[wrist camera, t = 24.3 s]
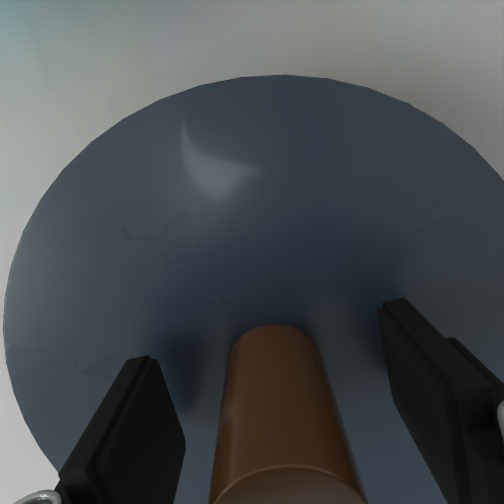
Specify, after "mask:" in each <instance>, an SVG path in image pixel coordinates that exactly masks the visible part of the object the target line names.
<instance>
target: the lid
mask: <svg viewBox="0 0 504 504" xmlns="http://www.w3.org/2000/svg"><path fill="white" fill-rule="evenodd" d="M403 297H405V298H406V299H407V300H408V301H409V302H410V303H411V304H412V305H413V306H414V307H415V308H416V309H417V310H418V311H419V312H420V313H421V314H422V315H423V316H424V317H425V318H426V319H427V320H428V321H429V322H430V323H431V324H432V325H433V326H434V327H435V328H436V329H437V330H438V331H439V333H440V334H441V335H442V336H443V337H444V338H445V339H446V338H451V337H454V338H456V339H457V340H459V341H460V342H461V343H462V344H463V345H464V346H465V347H466V348H467V349H468V350H469V351H470V352H471V353H472V354H473V355H474V356H475V357H476V358H477V359H478V360H480V361H481V362H482V363H483V364H484V365H485V366H486V367H487V368H488V369H489V370H490V371H491V372H492V373H493V374H494V375H495V376H496V377H497V378H498V379H499V380H500V381H501V382H502V383H504V181H503V179H502V178H501V176H500V175H499V174H498V173H497V172H496V171H495V170H494V169H493V168H492V167H491V166H490V165H489V164H488V162H487V161H486V160H485V159H484V158H483V157H482V156H481V155H480V154H479V153H478V152H477V151H476V149H475V148H473V147H472V146H471V145H470V144H468V143H467V142H466V141H465V140H463V139H462V138H461V137H460V136H458V135H457V134H456V133H455V132H453V131H452V130H451V129H449V128H448V127H447V126H446V125H444V124H443V123H441V122H440V121H438V120H436V119H434V118H433V117H431V116H429V115H427V114H426V113H424V112H422V111H420V110H419V109H417V108H415V107H414V106H412V105H410V104H408V103H406V102H403V101H401V100H398V99H396V98H393V97H391V96H388V95H386V94H383V93H380V92H378V91H375V90H373V89H370V88H367V87H362V86H358V85H354V84H350V83H345V82H341V81H337V80H332V79H328V78H318V77H306V76H294V75H270V76H252V77H240V78H235V79H230V80H225V81H220V82H215V83H210V84H205V85H200V86H197V87H194V88H191V89H188V90H186V91H183V92H180V93H177V94H174V95H171V96H169V97H166V98H163V99H160V100H158V101H156V102H154V103H152V104H151V105H149V106H147V107H145V108H143V109H141V110H139V111H137V112H135V113H133V114H132V115H130V116H128V117H126V118H124V119H122V120H121V121H120V122H118V123H117V124H116V125H114V126H113V127H111V128H110V129H109V130H107V131H106V132H105V133H103V134H102V135H100V136H99V137H98V138H96V139H95V140H94V141H92V142H91V143H90V144H89V145H88V146H87V147H86V148H85V149H84V150H83V151H82V152H81V153H80V154H79V155H78V156H77V157H75V158H74V159H73V160H72V161H71V162H70V163H69V164H68V165H67V166H66V167H65V168H64V169H63V170H62V172H61V173H60V174H59V176H58V177H57V178H56V180H55V181H54V182H53V184H52V185H51V186H50V188H49V189H48V190H47V192H46V193H45V194H44V196H43V197H42V198H41V200H40V202H39V203H38V205H37V207H36V209H35V211H34V213H33V214H32V216H31V218H30V220H29V222H28V224H27V225H26V227H25V229H24V231H23V234H22V236H21V239H20V242H19V245H18V247H17V250H16V253H15V256H14V258H13V261H12V264H11V268H10V273H9V279H8V284H7V289H6V294H5V301H4V322H3V335H4V345H5V355H6V364H7V368H8V372H9V376H10V380H11V384H12V388H13V392H14V395H15V397H16V400H17V402H18V405H19V408H20V410H21V413H22V415H23V418H24V420H25V422H26V424H27V426H28V428H29V429H30V431H31V433H32V435H33V437H34V438H35V440H36V442H37V444H38V446H39V447H40V449H41V450H42V452H43V453H44V454H45V456H46V457H47V458H48V460H49V461H50V462H51V464H52V465H53V466H54V468H55V469H56V470H57V472H58V473H59V472H60V470H61V469H62V467H63V465H64V464H65V462H66V460H67V459H68V457H69V455H70V454H71V452H72V450H73V449H74V447H75V445H76V444H77V442H78V440H79V439H80V437H81V435H82V434H83V432H84V430H85V429H86V427H87V425H88V424H89V422H90V420H91V419H92V417H93V415H94V414H95V412H96V410H97V409H98V407H99V405H100V404H101V402H102V400H103V399H104V397H105V395H106V394H107V392H108V390H109V389H110V387H111V385H112V384H113V382H114V380H115V379H116V377H117V375H118V374H119V372H120V370H121V369H122V367H123V365H124V364H125V362H126V361H127V360H128V359H132V358H136V357H141V356H145V355H148V356H150V358H151V359H157V361H158V363H159V365H160V368H161V371H162V374H163V377H164V379H165V382H166V385H167V388H168V391H169V393H170V396H171V399H172V402H173V405H174V408H175V410H176V413H177V416H178V419H179V422H180V425H181V427H182V430H183V433H184V436H185V440H186V452H185V456H184V461H183V465H182V469H181V474H180V478H179V482H178V487H177V491H176V496H175V500H174V504H447V502H446V500H445V498H444V496H443V494H442V492H441V491H440V489H439V487H438V485H437V483H436V481H435V479H434V478H433V476H432V474H431V472H430V470H429V468H428V466H427V464H426V463H425V461H424V459H423V457H422V455H421V453H420V451H419V450H418V448H417V446H416V444H415V442H414V440H413V438H412V437H411V435H410V433H409V431H408V429H407V427H406V425H405V423H404V422H403V420H402V418H401V416H400V414H399V412H398V410H397V409H396V406H395V404H394V401H393V398H392V394H391V389H390V384H389V378H388V373H387V367H386V362H385V356H384V351H383V345H382V340H381V334H380V329H379V323H378V318H377V309H378V308H383V302H385V301H389V300H394V299H398V298H403Z"/></svg>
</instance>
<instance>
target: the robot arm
mask: <svg viewBox="0 0 504 504" xmlns="http://www.w3.org/2000/svg"><path fill="white" fill-rule="evenodd" d="M377 318H378V323H379V329H380V334H381V340H382V345H383V351H384V356H385V362H386V367H387V373H388V378H389V384H390V389H391V394H392V398H393V401H394V404H395V406H396V409H397V410H398V412H399V414H400V416H401V418H402V420H403V422H404V423H405V425H406V427H407V429H408V431H409V433H410V435H411V437H412V438H413V440H414V442H415V444H416V446H417V448H418V450H419V451H420V453H421V455H422V457H423V459H424V461H425V463H426V464H427V466H428V468H429V470H430V472H431V474H432V476H433V478H434V479H435V481H436V483H437V485H438V487H439V489H440V491H441V492H442V494H443V496H444V498H445V500H446V502H447V504H504V383H502V382H501V381H500V380H499V379H498V378H497V377H496V376H495V375H494V374H493V373H492V372H491V371H490V370H489V369H488V368H487V367H486V366H485V365H484V364H483V363H482V362H481V361H480V360H478V359H477V358H476V357H475V356H474V355H473V354H472V353H471V352H470V351H469V350H468V349H467V348H466V347H465V346H464V345H463V344H462V343H461V342H460V341H459V340H457V339H456V338H454V337H451V338H446V339H445V338H444V337H443V336H442V335H441V334H440V333H439V331H438V330H437V329H436V328H435V327H434V326H433V325H432V324H431V323H430V322H429V321H428V320H427V319H426V318H425V317H424V316H423V315H422V314H421V313H420V312H419V311H418V310H417V309H416V308H415V307H414V306H413V305H412V304H411V303H410V302H409V301H408V300H407V299H406V298H405V297H403V298H398V299H394V300H389V301H385V302H383V308H378V309H377ZM185 452H186V440H185V436H184V433H183V430H182V427H181V425H180V422H179V419H178V416H177V413H176V410H175V408H174V405H173V402H172V399H171V396H170V393H169V391H168V388H167V385H166V382H165V379H164V377H163V374H162V371H161V368H160V365H159V363H158V361H157V359H151V358H150V356H148V355H145V356H141V357H136V358H132V359H128V360H127V361H126V362H125V364H124V365H123V367H122V369H121V370H120V372H119V374H118V375H117V377H116V379H115V380H114V382H113V384H112V385H111V387H110V389H109V390H108V392H107V394H106V395H105V397H104V399H103V400H102V402H101V404H100V405H99V407H98V409H97V410H96V412H95V414H94V415H93V417H92V419H91V420H90V422H89V424H88V425H87V427H86V429H85V430H84V432H83V434H82V435H81V437H80V439H79V440H78V442H77V444H76V445H75V447H74V449H73V450H72V452H71V454H70V455H69V457H68V459H67V460H66V462H65V464H64V465H63V467H62V469H61V470H60V472H59V474H58V476H59V478H60V481H59V482H58V484H57V486H56V488H55V489H54V491H52V490H43V491H38V492H35V493H32V494H30V495H27V496H26V497H24V498H22V499H20V500H18V501H17V502H15V503H14V504H174V500H175V496H176V491H177V487H178V482H179V478H180V474H181V469H182V465H183V461H184V456H185Z"/></svg>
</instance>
